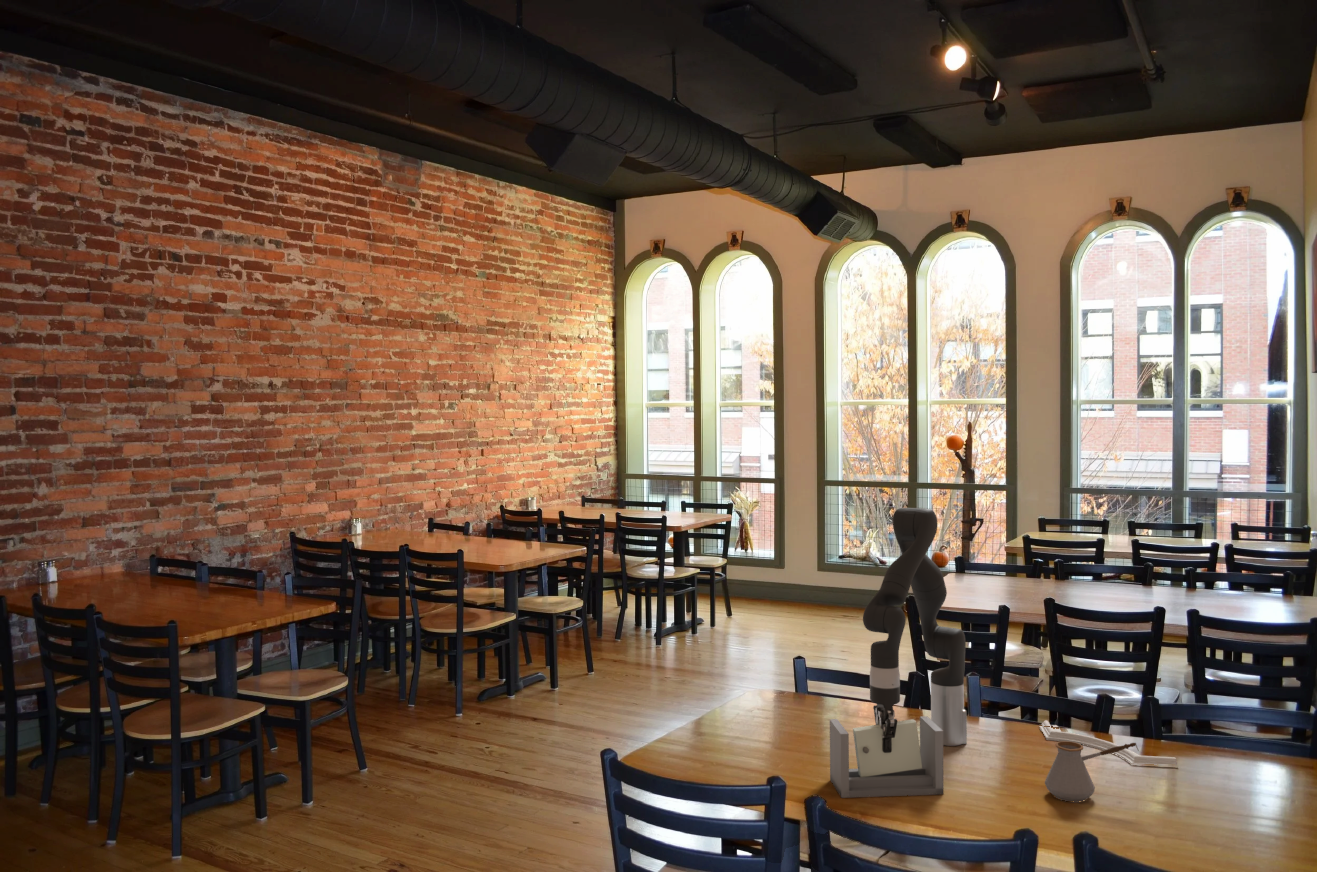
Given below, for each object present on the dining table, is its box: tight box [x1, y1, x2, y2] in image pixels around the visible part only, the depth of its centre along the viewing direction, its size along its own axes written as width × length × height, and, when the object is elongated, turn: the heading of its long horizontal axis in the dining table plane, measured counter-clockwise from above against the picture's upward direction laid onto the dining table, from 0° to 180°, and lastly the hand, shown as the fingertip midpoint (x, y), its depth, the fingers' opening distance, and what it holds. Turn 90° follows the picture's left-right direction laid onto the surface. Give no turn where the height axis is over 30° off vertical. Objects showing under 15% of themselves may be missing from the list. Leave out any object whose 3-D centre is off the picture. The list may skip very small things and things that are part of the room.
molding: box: [1038, 719, 1178, 765], centre depth 277 cm, size 42×12×3 cm, turn 33°
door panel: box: [852, 718, 922, 777], centre depth 249 cm, size 16×3×12 cm, turn 93°
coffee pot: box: [1044, 741, 1140, 803], centre depth 240 cm, size 21×12×15 cm, turn 70°
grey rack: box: [829, 716, 945, 799], centre depth 250 cm, size 26×12×16 cm, turn 93°
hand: (885, 749), depth 250 cm, fingers closed on door panel, 2 cm apart
